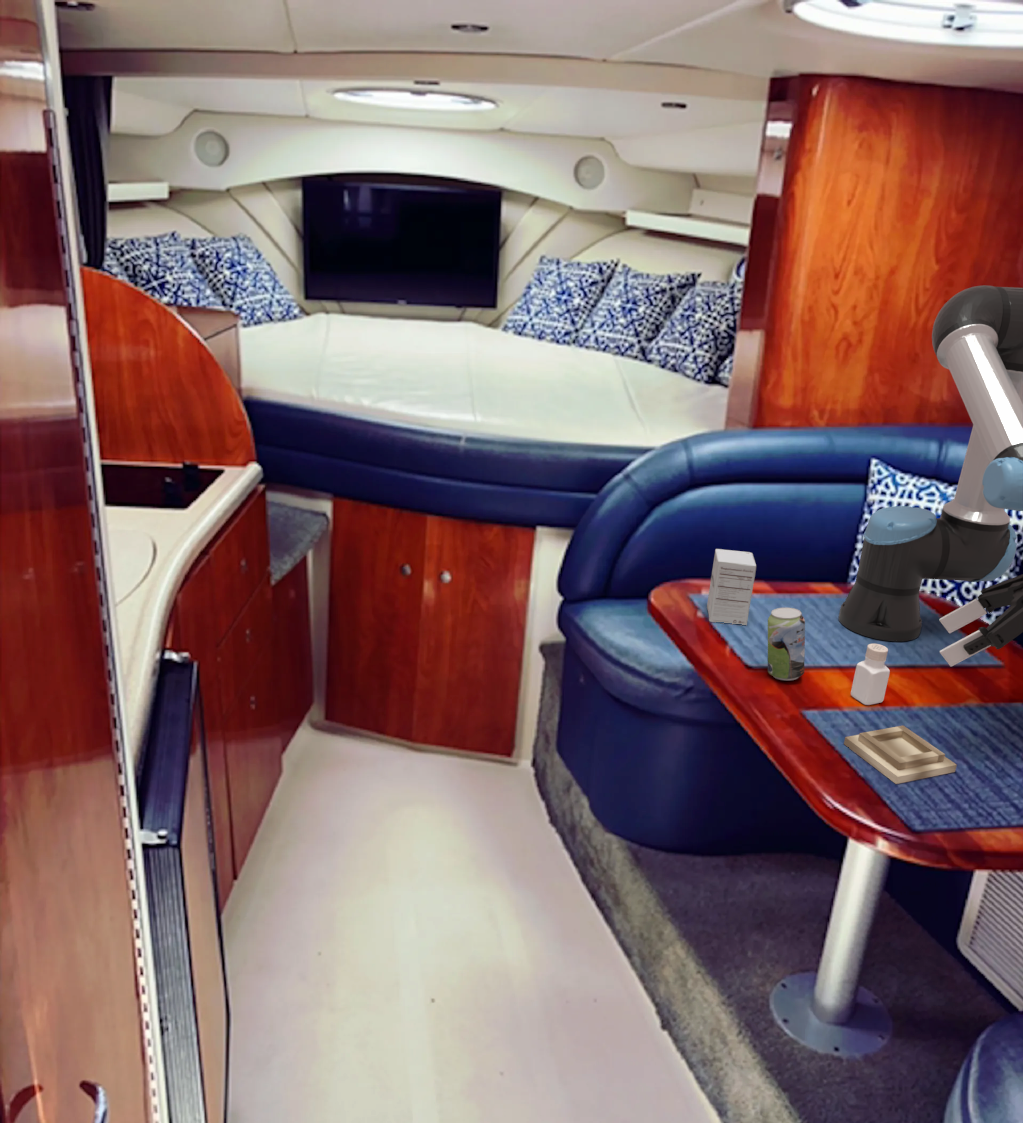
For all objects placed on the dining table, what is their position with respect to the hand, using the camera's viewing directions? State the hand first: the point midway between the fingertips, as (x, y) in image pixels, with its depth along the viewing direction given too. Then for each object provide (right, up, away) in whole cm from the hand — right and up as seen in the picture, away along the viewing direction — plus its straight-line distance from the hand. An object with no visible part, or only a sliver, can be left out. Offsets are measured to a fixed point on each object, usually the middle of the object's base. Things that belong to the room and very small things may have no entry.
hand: (944, 642), depth 151 cm
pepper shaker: (-9, -10, +8) cm, 16 cm away
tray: (-11, -16, -8) cm, 21 cm away
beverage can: (-22, -7, +15) cm, 27 cm away
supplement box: (-26, +2, +37) cm, 45 cm away
